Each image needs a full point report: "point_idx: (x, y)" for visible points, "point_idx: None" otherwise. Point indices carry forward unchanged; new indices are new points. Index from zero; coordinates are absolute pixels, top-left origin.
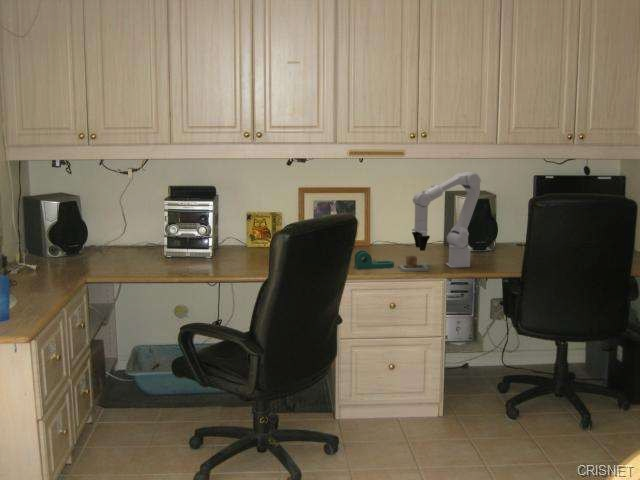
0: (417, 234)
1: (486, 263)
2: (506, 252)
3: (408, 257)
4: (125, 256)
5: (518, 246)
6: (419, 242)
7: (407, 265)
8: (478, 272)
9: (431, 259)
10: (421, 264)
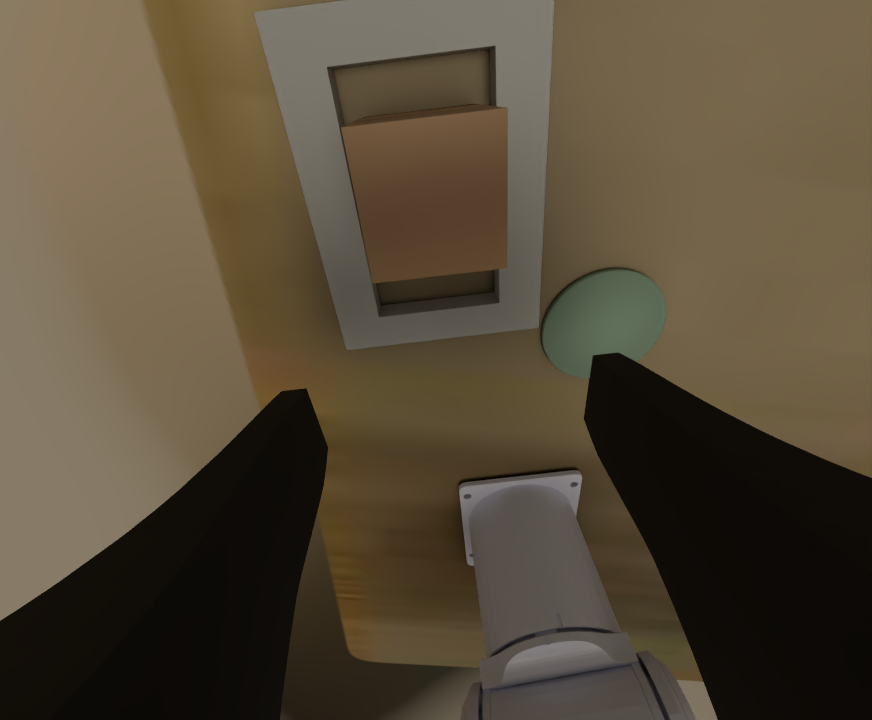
0: (812, 675)
1: None
2: None
3: (349, 131)
4: None
5: None
6: (144, 524)
7: (401, 114)
8: (341, 573)
9: (776, 402)
10: (526, 304)
